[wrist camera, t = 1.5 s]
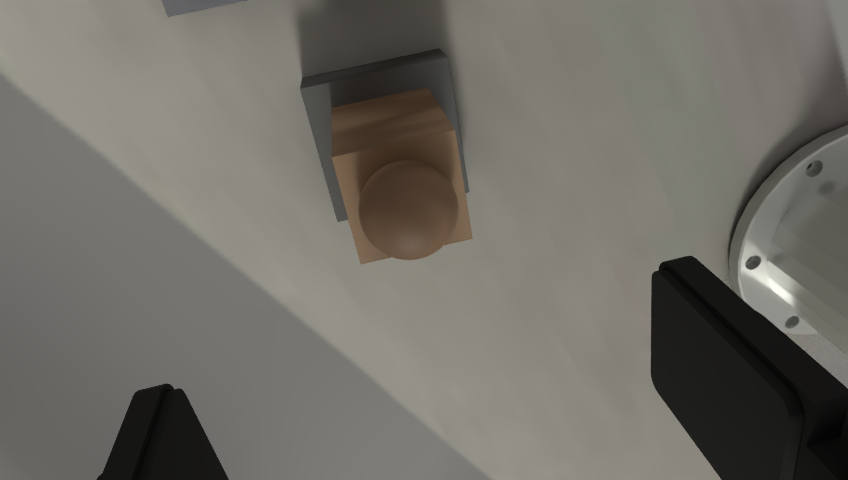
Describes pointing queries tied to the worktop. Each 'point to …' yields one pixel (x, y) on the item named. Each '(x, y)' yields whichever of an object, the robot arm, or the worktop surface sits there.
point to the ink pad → (192, 5)
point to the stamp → (392, 154)
